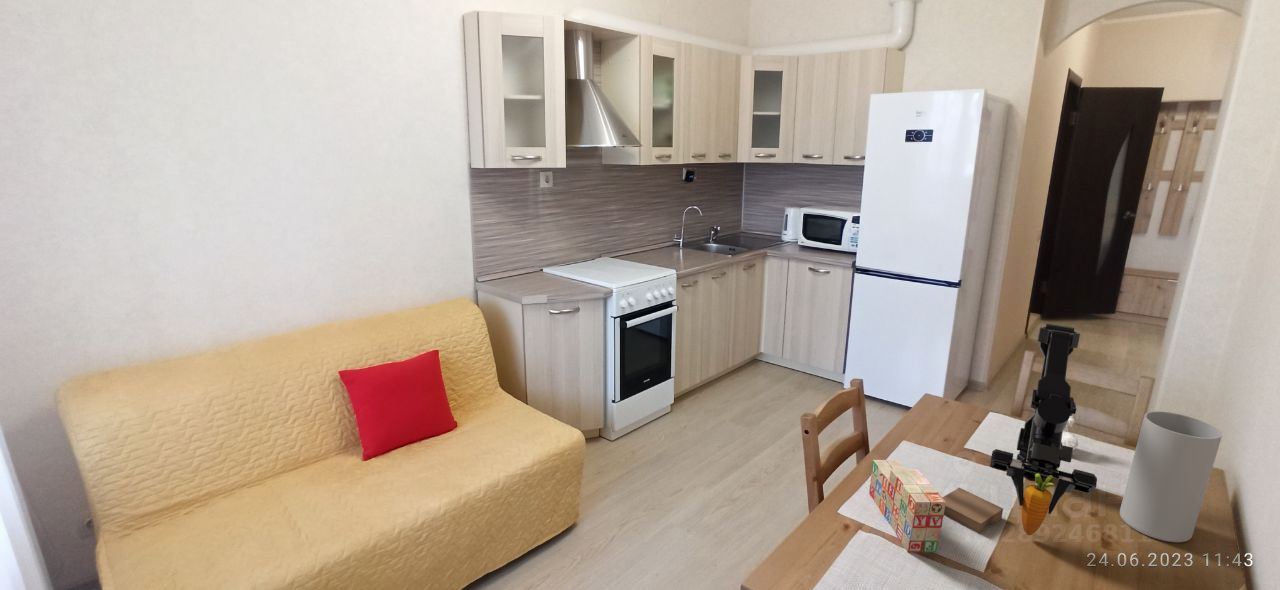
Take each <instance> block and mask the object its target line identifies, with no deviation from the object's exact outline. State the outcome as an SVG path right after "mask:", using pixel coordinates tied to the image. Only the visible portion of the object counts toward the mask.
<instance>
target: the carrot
mask: <svg viewBox="0 0 1280 590" xmlns="http://www.w3.org/2000/svg"><path fill="white" fill-rule="evenodd" d="M1052 479H1054V478H1053V476H1052V475H1050V476H1048V478H1047V479H1044V480H1045V481H1044V482H1043V479H1041V476H1040V474H1039V473H1037V474H1035V479H1034V481H1035V484H1029V485H1027V486H1026V488H1025V490H1024V497H1023V504H1022V506H1021V522H1022V523H1021V524H1022V527H1023V530H1024V532H1025V534H1026V535H1027V536H1032V535H1033V534H1034V533H1036V532H1037V531H1038V530H1039V529H1040V528H1041V526H1042V524H1043V523H1044V520H1045V518H1046V517H1047V514H1048V511H1049V505H1050V502H1051V499H1052V495H1053V493H1051V492H1050V490H1049V489H1047V488H1049V487H1055V484H1054V483H1053V482H1050V481H1051V480H1052Z"/></svg>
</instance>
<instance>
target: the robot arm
mask: <svg viewBox="0 0 1280 590" xmlns="http://www.w3.org/2000/svg"><path fill="white" fill-rule="evenodd" d="M1080 337H1081V333H1080V332H1076V331H1075V327H1072V326H1064V325H1059V324H1052V323H1045V326H1039V329H1038V333H1037V340H1036V341H1037V342H1039V345H1038V346H1039V347H1038V348H1039V350H1040V352H1041V354H1042V357H1043V362H1042V363H1043V364H1042V368H1041V374H1040V379H1038V381H1037V385H1036V389H1034V388H1033V389H1032V392H1031V397H1030V403H1029V404H1030V407H1029V408H1032V409H1034V412H1033V414H1032V415H1031V416H1030V417H1029V418H1028V419H1027V420H1026V421H1025V422H1024V425H1023V427H1020V430H1019V434H1018V437H1017V442H1016V443H1017V444H1016V451H1019V453H1017V456H1016V458H1014V453H1012V452H1009V451H1005V450H1001V449H997V448H996V449H993V450H992V452H991V457H990V462H989V468H992V469H995V470H999V471H1002V472H1006V476H1008V477H1010V478H1011V480H1012V483H1013V485H1014V487H1015V491H1016V496H1017V500H1018V505H1019V506H1020V507H1022V504H1023V498H1024V493H1025V490H1024V485H1025V484H1024V481H1025V478H1026V479H1027V480H1035V474H1037V473H1039V474H1040V476H1041V479H1042V480H1046V479H1047V478H1048V476H1050V475H1052V476H1053V478H1052V479H1055V480H1057V482H1056V484H1055V485H1054V490H1053V493H1052V498H1051V502H1050V505H1049V508H1048V511H1047V514H1048V515H1051V514H1052V513H1053V510H1054V509H1055V507H1056V505H1057V504H1058V502H1059V501H1060V499H1061V498H1062V497H1063V496H1064V494H1065V493H1073V492H1074V491H1076V492H1078V493H1079V492H1080V493H1084V494H1088V495H1092V493H1094V491H1095V490H1096V488H1097V486H1098V485H1097V483H1098V477H1097V476H1096V475H1095V473H1091V472H1088V471H1084V470H1079V469H1076V468H1074V469H1073V471H1072V473H1070V472H1065V471H1062V470H1059V468H1060V467H1061V462H1062V461H1063V462H1066V463H1071V462H1072V457H1073V451H1074V450H1073V448H1072V447H1068V446H1064V445H1062V442H1061V441H1062V433H1063V430H1064V428H1065V426H1066V424H1067V422H1068V419H1069V417H1070V416H1073V414H1074V415H1076V414H1077V413H1076V412H1077V404H1076V402H1075V401H1074V400H1075V399H1074V397H1073V396H1071V393H1072V392H1071V390H1072V386H1071V385H1070V384H1069V383H1068V382H1067V381H1068V380H1066V376H1067V368H1068V360H1069V356H1070V355H1071V354H1072V353H1073V352H1074V349H1078V347H1079V343H1080Z"/></svg>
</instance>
